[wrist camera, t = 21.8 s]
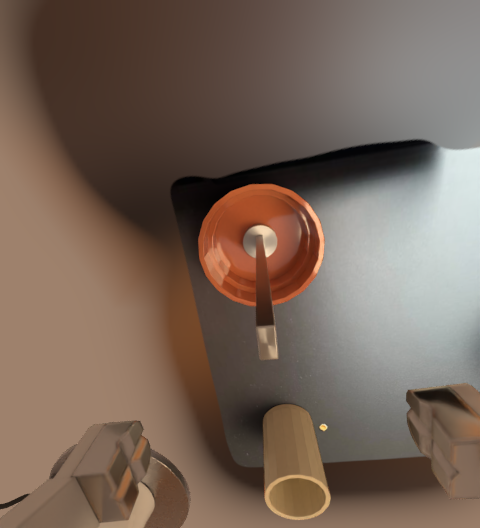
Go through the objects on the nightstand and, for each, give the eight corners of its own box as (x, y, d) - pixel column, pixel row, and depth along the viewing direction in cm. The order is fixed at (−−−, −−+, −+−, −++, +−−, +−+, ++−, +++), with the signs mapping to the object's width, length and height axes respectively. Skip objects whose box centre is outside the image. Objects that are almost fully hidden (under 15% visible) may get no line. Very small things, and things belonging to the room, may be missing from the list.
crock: (270, 445, 45) (275, 524, 35) (256, 409, 43) (256, 480, 33) (317, 437, 44) (336, 515, 34) (305, 398, 42) (321, 469, 32)
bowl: (227, 298, 38) (222, 319, 32) (192, 205, 34) (179, 209, 28) (323, 271, 36) (336, 288, 30) (297, 168, 32) (306, 164, 26)
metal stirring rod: (245, 257, 35) (226, 386, 12) (241, 225, 34) (212, 304, 11) (277, 253, 35) (318, 380, 12) (274, 221, 33) (314, 295, 11)
